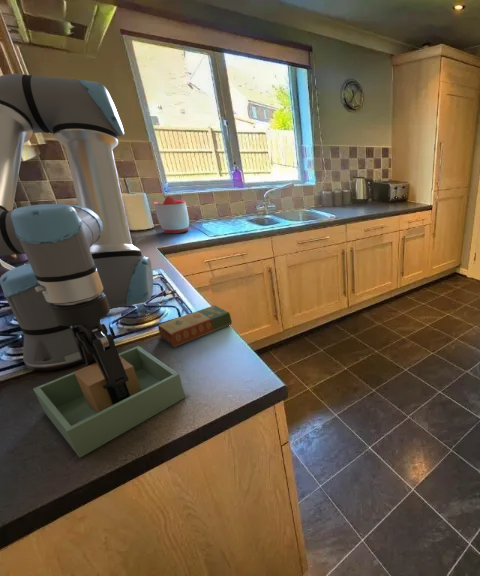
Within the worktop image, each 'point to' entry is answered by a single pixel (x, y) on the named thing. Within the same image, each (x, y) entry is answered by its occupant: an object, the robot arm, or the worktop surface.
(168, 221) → the citrus juicer
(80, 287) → the robot arm
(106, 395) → the box
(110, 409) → the basket
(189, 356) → the worktop surface
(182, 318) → the carton
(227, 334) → the worktop surface
